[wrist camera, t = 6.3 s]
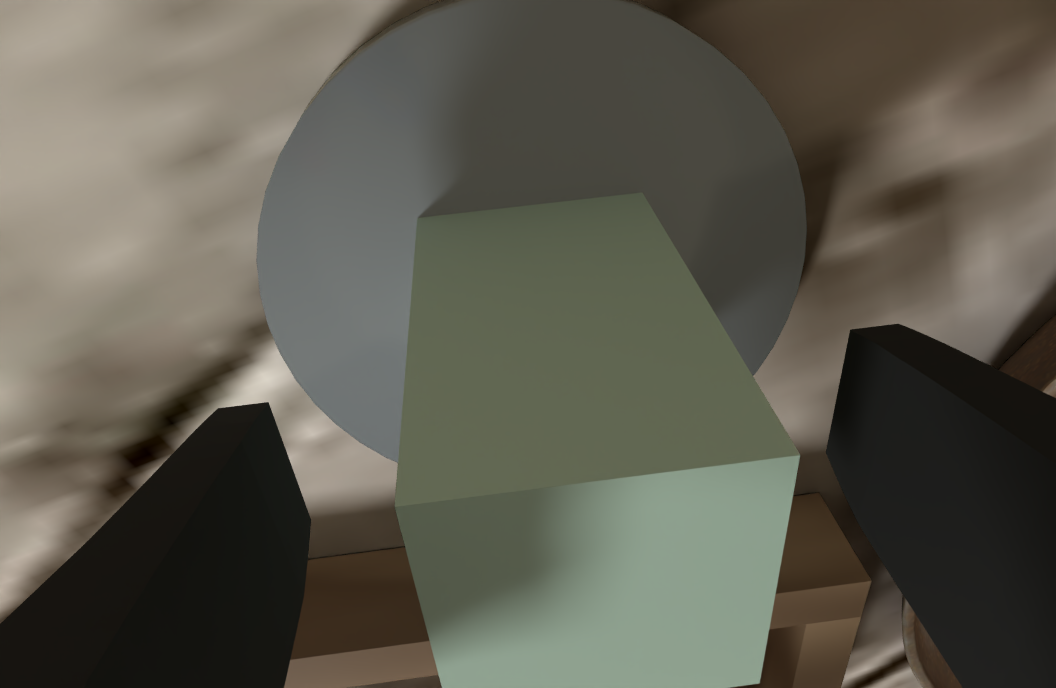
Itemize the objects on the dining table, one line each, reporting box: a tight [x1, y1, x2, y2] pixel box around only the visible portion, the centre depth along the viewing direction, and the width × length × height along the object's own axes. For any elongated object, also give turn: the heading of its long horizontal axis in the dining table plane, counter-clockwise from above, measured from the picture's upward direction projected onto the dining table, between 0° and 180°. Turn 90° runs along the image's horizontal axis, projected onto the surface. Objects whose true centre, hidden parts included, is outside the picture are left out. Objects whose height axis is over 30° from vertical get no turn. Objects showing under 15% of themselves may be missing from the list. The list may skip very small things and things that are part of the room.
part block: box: [395, 193, 800, 688], centre depth 10 cm, size 4×4×6 cm
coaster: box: [257, 0, 807, 463], centre depth 12 cm, size 9×9×1 cm
